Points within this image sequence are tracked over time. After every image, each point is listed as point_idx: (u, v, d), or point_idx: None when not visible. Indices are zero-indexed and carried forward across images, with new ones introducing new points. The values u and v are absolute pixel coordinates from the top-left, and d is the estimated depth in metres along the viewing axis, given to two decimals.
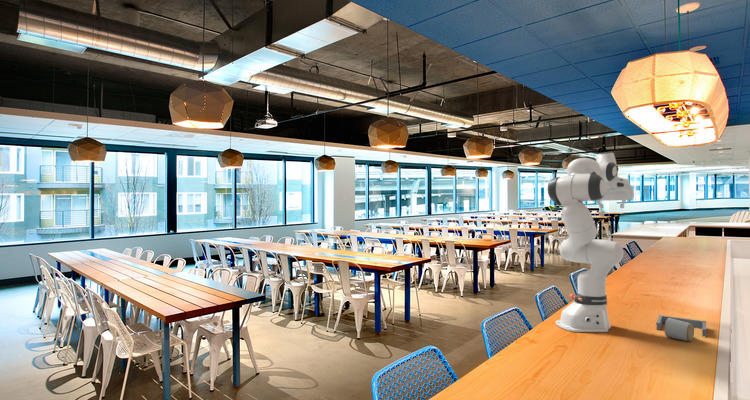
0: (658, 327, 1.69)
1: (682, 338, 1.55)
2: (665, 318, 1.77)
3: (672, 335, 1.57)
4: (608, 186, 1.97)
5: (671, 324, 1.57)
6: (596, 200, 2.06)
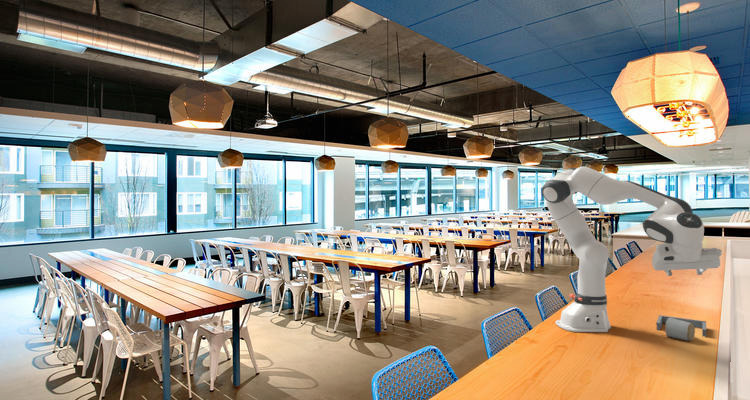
0: (658, 327, 1.69)
1: (683, 338, 1.55)
2: (665, 318, 1.77)
3: (672, 335, 1.57)
4: None
5: (672, 324, 1.58)
6: None
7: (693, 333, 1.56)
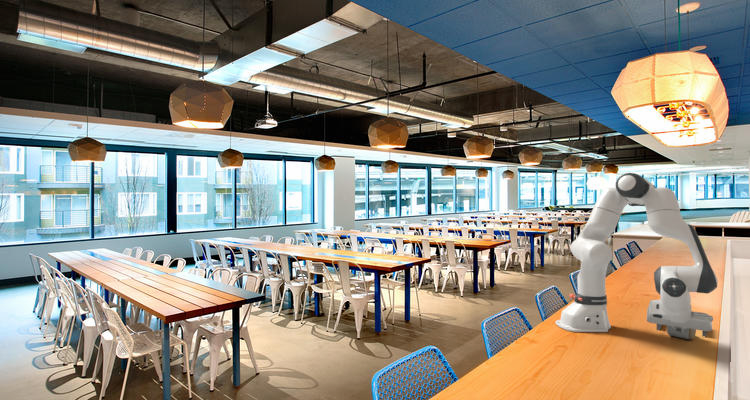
0: (658, 327, 1.69)
1: (684, 337, 1.56)
2: None
3: (674, 334, 1.58)
4: None
5: None
6: None
7: (694, 332, 1.57)
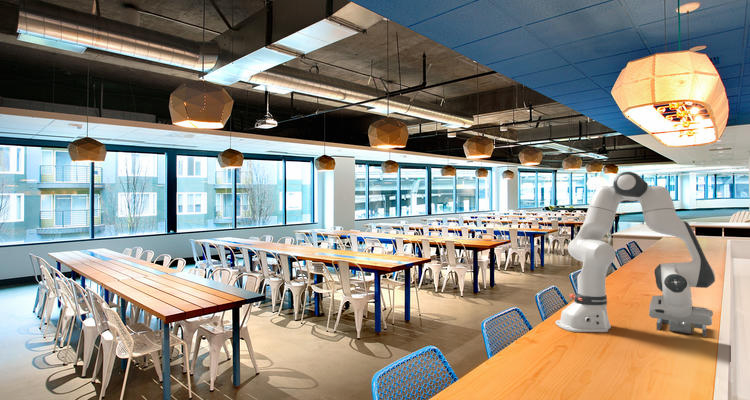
0: (658, 327, 1.69)
1: (686, 331, 1.62)
2: None
3: (676, 329, 1.64)
4: None
5: None
6: None
7: (693, 326, 1.64)
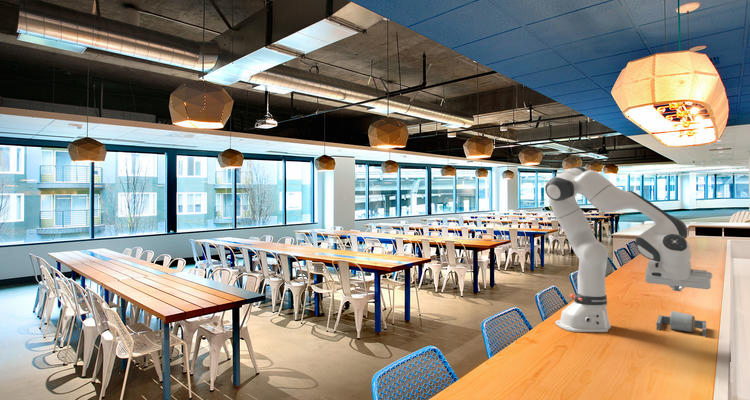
0: (658, 327, 1.69)
1: (687, 329, 1.64)
2: (665, 318, 1.77)
3: (677, 327, 1.66)
4: None
5: (676, 317, 1.66)
6: None
7: (694, 324, 1.66)
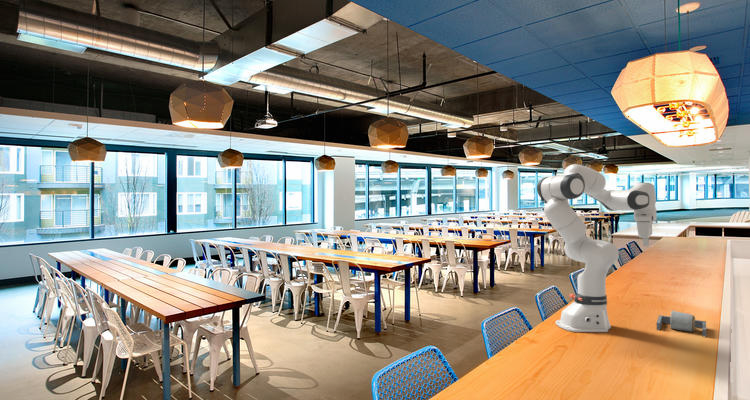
0: (658, 327, 1.69)
1: (687, 329, 1.65)
2: (665, 318, 1.77)
3: (677, 327, 1.67)
4: (634, 218, 1.88)
5: (676, 316, 1.67)
6: None
7: (694, 324, 1.66)
